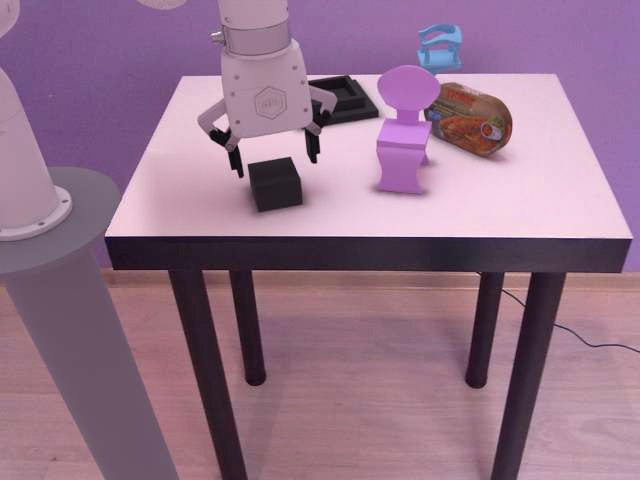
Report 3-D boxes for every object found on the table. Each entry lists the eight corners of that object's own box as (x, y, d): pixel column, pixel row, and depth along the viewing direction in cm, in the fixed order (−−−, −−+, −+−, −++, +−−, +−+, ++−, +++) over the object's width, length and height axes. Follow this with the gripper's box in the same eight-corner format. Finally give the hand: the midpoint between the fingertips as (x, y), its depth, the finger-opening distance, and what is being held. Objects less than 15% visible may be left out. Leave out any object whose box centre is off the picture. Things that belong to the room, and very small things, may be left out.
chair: (409, 89, 109) (411, 19, 102) (456, 86, 109) (462, 17, 102) (414, 108, 103) (417, 36, 96) (464, 106, 103) (471, 34, 96)
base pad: (301, 129, 99) (299, 112, 97) (284, 96, 108) (282, 79, 107) (378, 116, 101) (378, 99, 100) (355, 85, 111) (355, 69, 109)
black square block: (258, 212, 82) (254, 186, 79) (251, 188, 86) (247, 163, 83) (303, 204, 83) (300, 178, 80) (293, 181, 87) (290, 156, 85)
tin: (420, 129, 98) (423, 78, 92) (434, 123, 99) (437, 72, 94) (498, 165, 89) (506, 110, 84) (511, 157, 91) (520, 103, 85)
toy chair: (368, 190, 85) (367, 86, 75) (380, 158, 91) (381, 58, 82) (429, 197, 83) (436, 91, 74) (437, 163, 90) (444, 62, 80)
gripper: (183, 59, 66) (214, 193, 77) (339, 34, 69) (347, 167, 80) (178, 35, 72) (207, 164, 83) (323, 14, 75) (332, 140, 86)
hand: (276, 165), depth 81 cm, fingers open, 9 cm apart
